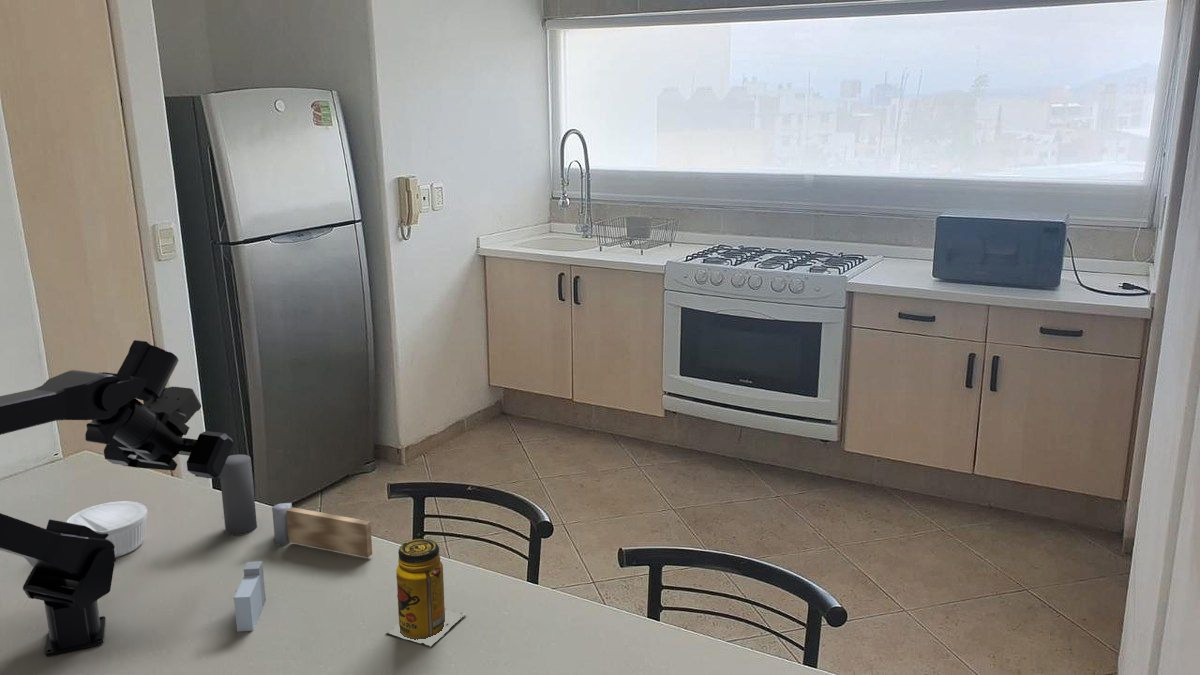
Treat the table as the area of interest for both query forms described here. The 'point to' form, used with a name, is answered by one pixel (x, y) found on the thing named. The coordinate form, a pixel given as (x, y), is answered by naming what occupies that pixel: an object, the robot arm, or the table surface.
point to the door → (329, 532)
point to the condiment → (420, 589)
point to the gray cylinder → (238, 496)
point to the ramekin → (116, 523)
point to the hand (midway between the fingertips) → (200, 471)
